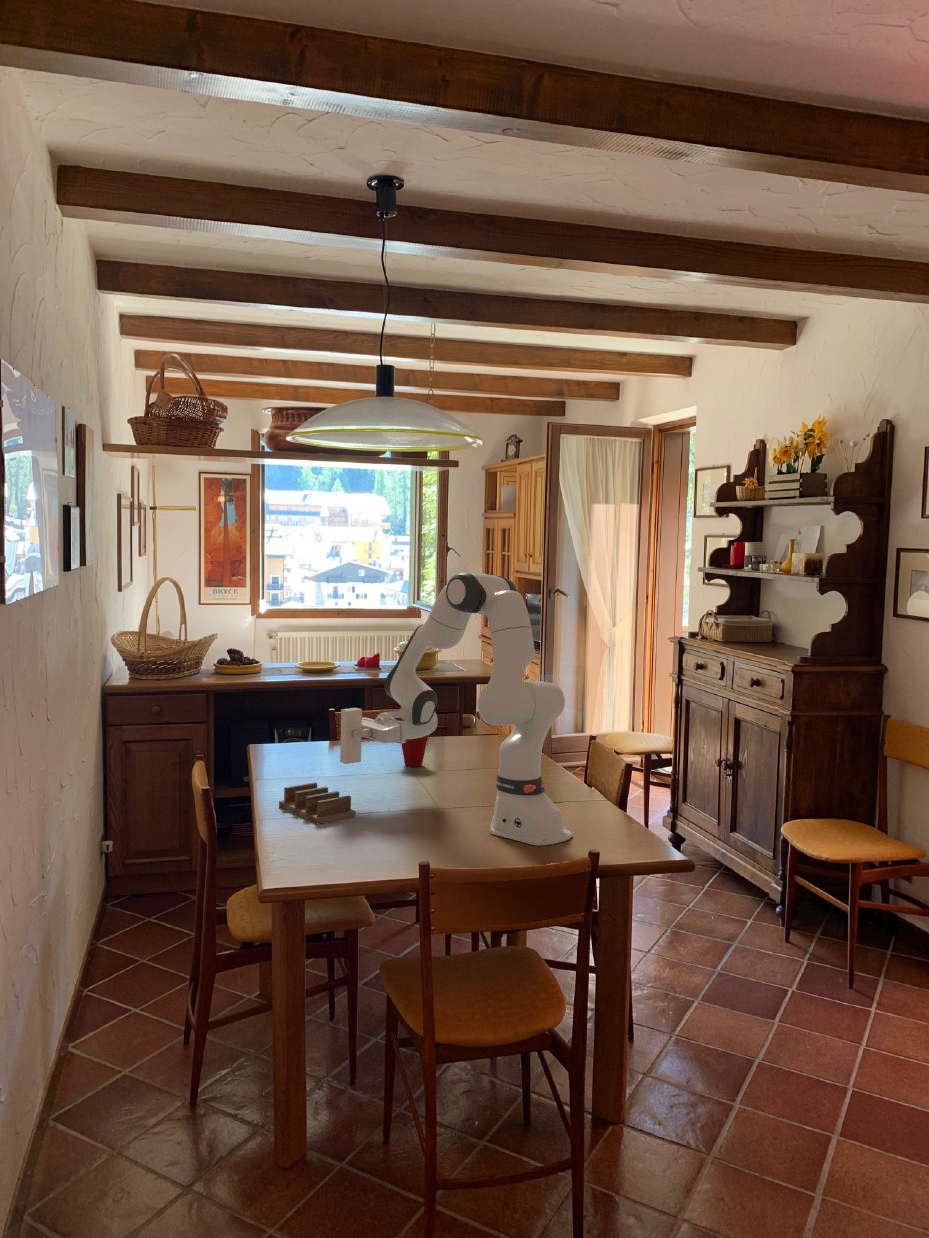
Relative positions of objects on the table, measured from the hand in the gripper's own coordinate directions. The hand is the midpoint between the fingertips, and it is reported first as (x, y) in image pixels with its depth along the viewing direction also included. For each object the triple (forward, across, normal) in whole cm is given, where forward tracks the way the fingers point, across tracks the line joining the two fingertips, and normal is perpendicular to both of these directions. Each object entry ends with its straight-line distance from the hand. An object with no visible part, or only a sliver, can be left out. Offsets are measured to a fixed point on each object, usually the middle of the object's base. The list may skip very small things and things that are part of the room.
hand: (348, 732), depth 260 cm
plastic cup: (-45, -27, +21) cm, 56 cm away
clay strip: (-1, 0, +8) cm, 9 cm away
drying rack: (+10, 0, +21) cm, 23 cm away
